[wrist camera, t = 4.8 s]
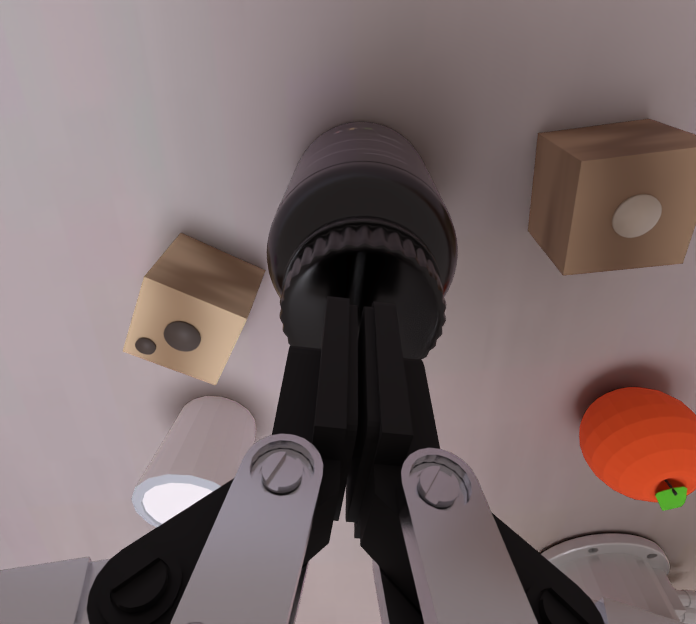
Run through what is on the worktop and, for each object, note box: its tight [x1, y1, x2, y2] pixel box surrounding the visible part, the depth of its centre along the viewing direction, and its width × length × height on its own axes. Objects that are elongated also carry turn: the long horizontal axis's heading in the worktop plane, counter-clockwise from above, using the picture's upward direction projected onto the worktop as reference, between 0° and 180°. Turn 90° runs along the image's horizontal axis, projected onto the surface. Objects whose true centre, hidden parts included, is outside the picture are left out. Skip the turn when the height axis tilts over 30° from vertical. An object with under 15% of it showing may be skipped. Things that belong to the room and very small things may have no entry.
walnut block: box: [528, 119, 696, 275], centre depth 20 cm, size 5×5×5 cm
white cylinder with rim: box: [131, 396, 256, 527], centre depth 30 cm, size 7×7×7 cm
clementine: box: [579, 387, 696, 511], centre depth 28 cm, size 8×7×7 cm
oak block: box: [123, 233, 265, 385], centre depth 24 cm, size 5×5×5 cm
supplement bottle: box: [267, 122, 458, 360], centre depth 17 cm, size 7×7×12 cm
